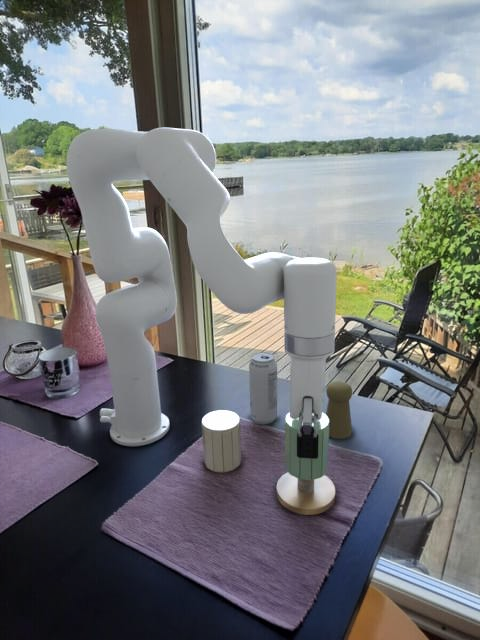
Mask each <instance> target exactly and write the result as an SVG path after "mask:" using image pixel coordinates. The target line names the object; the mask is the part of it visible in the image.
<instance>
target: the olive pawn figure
mask: <svg viewBox="0 0 480 640" xmlns="http://www.w3.org/2000/svg"><path fill="white" fill-rule="evenodd" d="M326 386H327V387H326V388H325V389H326V390H325V393H326V396H327V398H328V399H327V405H326V409H325V414H326V415H327V416H328V418H329V438H332V439H335V440H344V439H347V438H350V437H351V435H352V434H353V428H352V427H353V426H352V416H351V406H350V405H351V404H350V400H351V399H352V396H353V388H352V386H351V385H350V384H349V383H348V382H346V381H343V380H335V381H331V382H329V383H328V385H326Z"/></svg>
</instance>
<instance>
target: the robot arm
mask: <svg viewBox="0 0 480 640" xmlns="http://www.w3.org/2000/svg"><path fill="white" fill-rule="evenodd" d="M216 165H217V153H216V149H215V146H214V145H213V143H212V141H211V140H210V138H208V136H206V135H205V134H204V133H202V132H201V131H199V130H196V129H187V128H175V127H157V128H153V129H151V130H149V131H141V130H140V131H139V130H124V129H114V128H95V129H89V130H86V131H83V132H80V133H79V134H77V135H76V136H75V138H73V139H72V141H71V142H70V144H69V147H68V150H67V155H66V173H67V177H68V182H69V184H70V187H71V189H72V192H73V194H74V197H75V199H76V202H77V204H78V207H79V209H80V214H81V217H82V221H83V227H84V232H85V236H86V241H87V245H88V249H89V254H90V260H91V262H92V263H91V264H92V266H93V269H94V272H95V274H96V277H98V278H99V280H101V281H102V282H104V283H108V284H109V283H110V284H116V283H121V282H125V281H129V280H132V279H136V278H137V282H138V283H134V284H130V285H127V286H124V287H120V288H117V289H114V290H112V291H110V292H107V293H106V294H105V295H103V296H102V297H101V298H100V299H99V300H98V302H97V303H96V306H95V309H94V310H95V312H94V314H95V315H94V316H95V321H96V324H97V327H98V329H99V332H100V335H101V337H102V342H103V345H104V349H105V354H106V360H107V367H108V374H109V381H110V387H111V396H112V402H113V408H112V409H111V408H104V407H103V408H101V409H100V410H99V416H100V417H99V422H100V423H104V424H105V423H106V424H108V423H109V424H110V425H111V426H110V429H109V435H110V439H111V440H112V441H113V442H114V443H116V444H117V445H120V446H125V447H140V446H146V445H150V444H152V443H155V442H157V441H159V440H160V439H162V438H163V437H164V436H165V435H167V433H168V432H169V430H170V419H169V417H168V416H167V415H165V414H164V413H162V409H161V408H162V407H161V397H160V390H159V380H158V379H159V378H158V370H157V360H156V359H157V358H156V352H155V349H154V347H153V345H152V344H151V342H150V341H149V340H148V339H147V337H146V336H145V332H146V331H148V330H150V329H151V328H154V327H156V326H158V325H161V324H163V323H165V322H168V321H169V320H170V319H172V317H173V316H174V315H175V314H176V311H177V308H178V295H177V289H176V283H175V278H174V277H175V276H174V271H173V265H172V260H171V256H170V254H171V253H170V250H169V247H168V244H167V242H166V240H165V239H164V237H163V236H162V235H161V234H160V233H159V232H158V230H156V229H154V228H151V227H145V226H141V227H134V228H133V225H132V221H131V215H130V209H129V207H128V204H127V202H126V200H125V199H124V197H123V195H122V194H121V192H120V191H119V190H118V189H117V188H116V187H115V186H114V183H115V182H122V181H123V182H129V181H130V182H131V181H133V182H134V181H150V182H151V183H152V185H153V186H154V187H155V188H156V190H157V191H158V192H159V194H160V195H161V196H162V197H163V199H164V200H165V202H167V203H168V204H169V206H170V207H171V209H172V210H173V211H174V212H175V214H176V215H177V216H178V217H179V219H180V220H181V221H182V223H183V224H184V225H185V227H186V230H187V246H188V250H189V254H190V258H191V261H192V264H193V266H194V269H195V270H196V272H197V274H198V276H199V277H200V278H201V280H202V281H203V282H204V284H205V285H206V286H207V288H208V289H209V290H210V291H211V292H212V293H213V295H214V296H215V297H216V298H217V300H218V301H219V302H220V303H222V304H223V305H224V306H225V307H226V308H228V309H229V310H230V311H233V312H234V313H237V314H241V315H248V314H253V313H255V312H258V311H259V310H261V309H263V308H265V307H266V306H269V305H270V304H272V303H276V302H279V301H283V340H284V341H283V343H284V344H283V346H284V348H283V350H284V353H286V355H288V356H289V357H290V363H289V364H290V365H289V368H290V369H289V412H290V417H291V418H292V419H294V418H295V419H297V418H299V426H298V433H297V457H299V458H311V459H317V458H318V439H319V434H317V419H318V420H320V419H321V418H322V412H323V411H324V410H323V408H324V400H325V392H326V390H325V389H326V372H327V371H326V370H327V358H329V357H331V356H332V355H334V353H335V346H336V343H335V342H336V315H337V314H336V313H337V311H336V309H337V278H338V276H337V275H338V273H337V267H336V265H335V263H334V262H333V261H331V260H329V259H327V258H324V257H323V258H322V257H298V256H294V255H289V254H286V253H282V252H274V251H271V252H264V253H261V254H258V255H255V256H252V257H249V258H246V259H244V258H243V257H242V256H241V254H240V253H239V252H238V251H237V250H236V249H235V248H234V246H233V245H232V243H231V242H230V241H229V239H228V237H227V236H226V235H225V232H224V230H223V229H224V228H223V226H222V220H221V217H222V216H223V215H224V213H226V211H227V208H228V207H229V205H230V201H231V196H230V193H229V191H228V189H227V188H226V187H225V186H224V185H223V184H222V183H221V181H220V180H219V178H217V177H216V175H215V174H214V173H213V172H214V171H215V169H216ZM302 412H303V415H301V414H302ZM312 412H315V416H312ZM298 416H299V417H298ZM302 420H303V426H302ZM312 421H314V427H313V426H312Z"/></svg>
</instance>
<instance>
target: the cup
mask: <svg viewBox="0 0 480 640" xmlns="http://www.w3.org/2000/svg"><path fill="white" fill-rule="evenodd" d="M201 435H202V437H201V438H202V449H203V463H204V465H205V467H206V468H207V469H208V470H210V471H212V472H214V473H227V472H231V471H234V470H235V469H237V468H238V467H239V466H240V465H241V462H242V437H241V435H242V434H241V419H240V416H239V415H238V414H237V413H236V412H234V411H231V410H226V409H218V410H213V411H210V412H208V413H207V414H205V415H204V416H203V417H202V419H201Z"/></svg>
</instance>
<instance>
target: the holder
mask: <svg viewBox="0 0 480 640" xmlns="http://www.w3.org/2000/svg"><path fill="white" fill-rule="evenodd" d="M275 490H276V491H275V493H276V497H277V500H278V501H279V503H280V504H281V505H282V506H283V507H284V508H285V509H287V510H288V511H290V512H293V513H295V514H299V515H303V516H305V515H307V516H313V515H318V514H322V513H325V512H327V511H328V510H329V509H331V507H333V505H334V503H335V501H336V492H337V491H336V486H335V484H334V482H333V480H331V478H329V477H328V476H327V475H326V474H324V475H323V477H321V478H318V479H314V480H302V479H298V478H296V477H294V476H292V475H290V474H289V473H288V471H287V472H286V473H284V474H282V475H281V476H280V477H279V478H278V480H277V483H276V487H275Z"/></svg>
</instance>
